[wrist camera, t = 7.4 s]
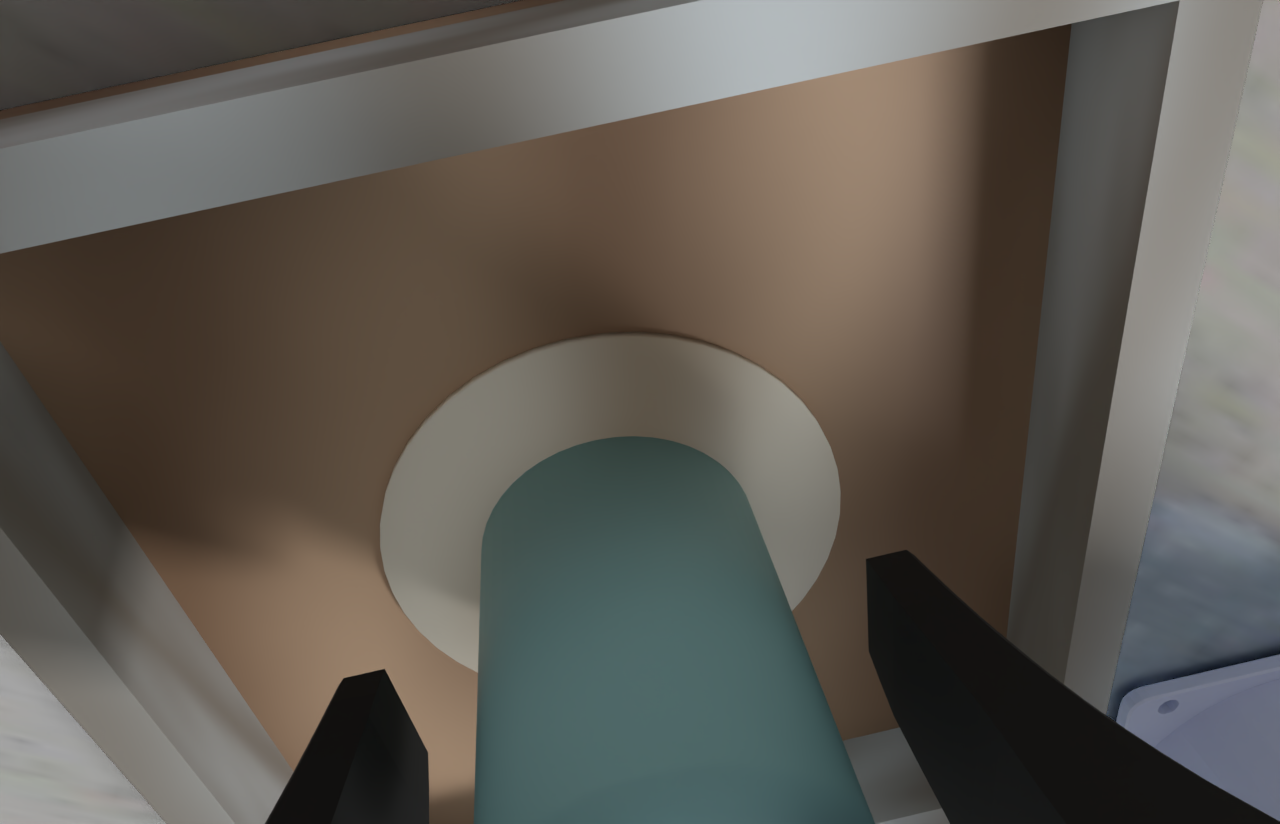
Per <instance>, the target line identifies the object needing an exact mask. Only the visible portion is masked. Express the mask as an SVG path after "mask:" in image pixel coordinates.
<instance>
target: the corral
mask: <svg viewBox="0 0 1280 824" xmlns="http://www.w3.org/2000/svg"><path fill="white" fill-rule="evenodd" d="M1262 4H1263V0H521V1H517V2H512V3H507V4H502V5H498V6H493V7H488V8H483V9H479V10H474V11H469V12H464V13H460V14H455V15H450V16H446V17H441V18H436V19H431V20H427V21H422V22H417V23H412V24H408V25H403V26H398V27H393V28H389V29H384V30H379V31H374V32H370V33H365V34H360V35H355V36H351V37H346V38H341V39H336V40H332V41H327V42H322V43H318V44H313V45H308V46H303V47H299V48H294V49H289V50H284V51H280V52H275V53H270V54H265V55H261V56H256V57H251V58H246V59H242V60H237V61H232V62H227V63H223V64H218V65H213V66H208V67H204V68H199V69H194V70H189V71H185V72H180V73H175V74H171V75H166V76H161V77H156V78H152V79H147V80H142V81H137V82H133V83H128V84H123V85H118V86H114V87H109V88H104V89H99V90H95V91H90V92H85V93H80V94H76V95H71V96H66V97H61V98H57V99H52V100H47V101H43V102H38V103H33V104H28V105H24V106H19V107H14V108H9V109H5V110H0V634H1V635H2V637H3V638H4V639H5V640H6V641H7V642H8V643H9V645H10V646H11V647H12V648H13V649H14V650H15V651H16V653H17V654H18V655H19V656H20V657H21V658H22V659H23V661H24V662H25V663H26V664H27V665H28V666H29V667H30V669H31V670H32V671H33V672H34V673H35V674H36V675H37V676H38V678H39V679H40V680H41V681H42V682H43V683H44V684H45V686H46V687H47V688H48V689H49V690H50V691H51V692H52V694H53V695H54V696H55V697H56V698H57V699H58V700H59V702H60V703H61V704H62V705H63V706H64V707H65V708H66V710H67V711H68V712H69V713H70V714H71V715H72V716H73V718H74V719H75V720H76V721H77V722H78V723H79V724H80V726H81V727H82V728H83V729H84V730H85V731H86V732H87V734H88V735H89V736H90V737H91V738H92V739H93V740H94V742H95V743H96V744H97V745H98V746H99V747H100V748H101V750H102V751H103V752H104V753H105V754H106V755H107V756H108V758H109V759H110V760H111V761H112V762H113V763H114V764H115V766H116V767H117V768H118V769H119V770H120V771H121V772H122V774H123V775H124V776H125V777H126V778H127V779H128V780H129V781H130V783H131V784H132V785H133V786H134V787H135V788H136V789H137V791H138V792H139V793H140V794H141V795H142V796H143V797H144V799H145V800H146V801H147V802H148V803H149V804H150V805H151V807H152V808H153V809H154V810H155V811H156V812H157V813H158V815H159V816H160V817H161V818H162V819H163V820H164V821H165V823H166V824H265V822H266V821H267V819H268V817H269V815H270V814H271V812H272V810H273V808H274V806H275V805H276V803H277V801H278V799H279V797H280V796H281V794H282V792H283V790H284V788H285V787H286V785H287V783H288V781H289V779H290V778H291V776H292V774H293V772H294V770H295V768H296V766H297V765H298V763H299V761H300V759H301V757H302V755H303V753H304V751H305V749H306V748H307V746H308V744H309V742H310V740H311V738H312V736H313V734H314V732H315V730H316V728H317V726H318V724H319V722H320V721H321V719H322V717H323V715H324V713H325V711H326V709H327V707H328V705H329V703H330V701H331V699H332V697H333V695H334V693H335V691H336V689H337V687H338V686H339V684H340V683H341V681H342V680H343V678H346V677H351V676H355V675H360V674H364V673H368V672H373V671H377V670H382V669H385V670H386V672H387V674H388V676H389V678H390V680H391V682H392V684H393V686H394V688H395V690H396V692H397V694H398V695H399V697H400V699H401V701H402V703H403V705H404V707H405V709H406V711H407V713H408V715H409V717H410V719H411V721H412V722H413V724H414V726H415V728H416V730H417V732H418V734H419V736H420V738H421V740H422V742H423V744H424V746H425V748H426V749H427V751H428V764H429V824H474V795H475V759H476V724H477V688H478V653H479V617H480V582H481V550H482V540H483V534H484V531H485V527H486V523H487V521H488V519H489V517H490V515H491V512H492V510H493V508H494V507H495V505H496V504H497V502H498V501H499V499H500V498H501V496H502V495H503V494H504V493H505V491H506V490H507V489H508V488H509V487H510V486H511V485H512V483H513V482H515V481H516V480H517V479H518V478H519V477H520V476H521V475H523V474H524V473H525V472H526V471H527V470H529V469H530V468H532V467H533V466H535V465H536V464H538V463H539V462H541V461H542V460H544V459H546V458H548V457H550V456H552V455H554V454H556V453H558V452H560V451H563V450H565V449H568V448H570V447H573V446H575V445H579V444H583V443H586V442H590V441H594V440H599V439H606V438H612V437H627V436H639V437H654V438H659V439H665V440H670V441H674V442H677V443H681V444H684V445H687V446H690V447H692V448H694V449H696V450H698V451H701V452H703V453H705V454H706V455H708V456H709V457H711V458H713V459H714V460H716V461H717V462H719V463H720V464H721V465H722V466H723V467H724V468H726V469H727V470H728V471H729V472H730V473H731V474H732V475H733V477H734V478H735V479H736V480H737V481H738V482H739V484H740V486H741V487H742V489H743V491H744V492H745V494H746V496H747V499H748V501H749V504H750V506H751V509H752V511H753V514H754V516H755V519H756V521H757V524H758V527H759V529H760V532H761V534H762V537H763V539H764V542H765V544H766V547H767V549H768V552H769V555H770V557H771V560H772V562H773V565H774V567H775V570H776V572H777V575H778V578H779V580H780V583H781V585H782V588H783V590H784V593H785V595H786V598H787V600H788V603H789V606H790V608H791V611H792V613H793V616H794V618H795V621H796V623H797V626H798V628H799V631H800V634H801V636H802V639H803V641H804V644H805V646H806V649H807V651H808V654H809V657H810V659H811V662H812V664H813V667H814V669H815V672H816V674H817V677H818V679H819V682H820V685H821V687H822V690H823V692H824V695H825V697H826V700H827V702H828V705H829V707H830V710H831V713H832V715H833V718H834V720H835V723H836V725H837V728H838V730H839V733H840V736H841V738H842V741H843V743H844V746H845V748H846V751H847V753H848V756H849V758H850V761H851V764H852V766H853V769H854V771H855V774H856V776H857V779H858V781H859V784H860V786H861V789H862V792H863V794H864V797H865V799H866V802H867V804H868V807H869V809H870V812H871V814H872V817H873V820H874V822H875V824H950V823H949V821H948V819H947V817H946V815H945V813H944V811H943V809H942V807H941V806H940V804H939V802H938V800H937V798H936V796H935V794H934V792H933V790H932V788H931V787H930V785H929V783H928V781H927V779H926V777H925V775H924V773H923V771H922V769H921V767H920V766H919V764H918V762H917V760H916V758H915V756H914V754H913V752H912V750H911V748H910V746H909V744H908V742H907V741H906V739H905V737H904V735H903V733H902V731H901V729H900V727H899V725H898V723H897V721H896V719H895V717H894V715H893V713H892V710H891V708H890V705H889V703H888V700H887V698H886V695H885V693H884V690H883V688H882V685H881V682H880V680H879V677H878V674H877V672H876V669H875V667H874V664H873V661H872V659H871V656H870V653H869V647H868V613H867V579H866V559H867V558H872V557H876V556H881V555H885V554H889V553H894V552H898V551H902V550H908V551H909V552H911V553H912V554H914V555H915V556H916V557H917V558H918V559H919V560H920V561H921V562H922V563H923V564H924V565H925V566H926V567H927V568H928V569H929V570H930V571H931V572H932V573H933V574H935V575H936V576H937V577H938V578H939V579H940V580H941V581H942V582H943V583H944V584H945V585H946V586H947V587H948V588H949V589H951V590H952V591H953V592H954V593H955V594H956V595H957V596H958V597H959V598H960V599H962V600H963V601H964V602H965V603H966V604H967V605H968V606H969V607H970V608H972V609H973V610H974V611H975V612H976V613H977V614H978V615H979V616H981V617H982V618H983V619H984V620H985V621H986V622H988V623H989V624H990V625H991V626H992V627H993V628H994V629H996V630H997V631H998V632H999V633H1000V634H1002V635H1003V636H1004V637H1005V638H1007V639H1008V640H1009V641H1010V642H1011V643H1013V644H1014V645H1015V646H1016V647H1017V648H1019V649H1020V650H1021V651H1022V652H1023V653H1025V654H1026V655H1027V656H1028V657H1030V658H1031V659H1032V660H1033V661H1034V662H1036V663H1037V664H1038V665H1040V666H1041V667H1042V668H1043V669H1045V670H1046V671H1047V672H1048V673H1050V674H1051V675H1052V676H1054V677H1055V678H1056V679H1057V680H1059V681H1060V682H1061V683H1063V684H1064V685H1065V686H1067V687H1068V688H1069V689H1071V690H1072V691H1073V692H1075V693H1076V694H1077V695H1079V696H1080V697H1081V698H1083V699H1084V700H1085V701H1087V702H1088V703H1090V704H1091V705H1092V706H1094V707H1095V708H1097V709H1098V710H1099V711H1101V712H1102V713H1104V714H1105V715H1106V712H1107V708H1108V703H1109V699H1110V694H1111V690H1112V685H1113V681H1114V676H1115V671H1116V667H1117V662H1118V658H1119V653H1120V649H1121V644H1122V640H1123V635H1124V631H1125V626H1126V621H1127V617H1128V612H1129V608H1130V603H1131V599H1132V594H1133V590H1134V585H1135V581H1136V576H1137V571H1138V567H1139V562H1140V558H1141V553H1142V549H1143V544H1144V540H1145V535H1146V531H1147V526H1148V522H1149V517H1150V512H1151V508H1152V503H1153V499H1154V494H1155V490H1156V485H1157V481H1158V476H1159V472H1160V467H1161V462H1162V458H1163V453H1164V449H1165V444H1166V440H1167V435H1168V431H1169V426H1170V422H1171V417H1172V412H1173V408H1174V403H1175V399H1176V394H1177V390H1178V385H1179V381H1180V376H1181V372H1182V367H1183V362H1184V358H1185V353H1186V349H1187V344H1188V340H1189V335H1190V331H1191V326H1192V322H1193V317H1194V312H1195V308H1196V303H1197V299H1198V294H1199V290H1200V285H1201V281H1202V276H1203V272H1204V267H1205V263H1206V258H1207V253H1208V249H1209V244H1210V240H1211V235H1212V231H1213V226H1214V222H1215V217H1216V213H1217V208H1218V203H1219V199H1220V194H1221V190H1222V185H1223V181H1224V176H1225V172H1226V167H1227V163H1228V158H1229V153H1230V149H1231V144H1232V140H1233V135H1234V131H1235V126H1236V122H1237V117H1238V113H1239V108H1240V103H1241V99H1242V94H1243V90H1244V85H1245V81H1246V76H1247V72H1248V67H1249V63H1250V58H1251V53H1252V49H1253V44H1254V40H1255V35H1256V31H1257V26H1258V22H1259V17H1260V13H1261V8H1262Z"/></svg>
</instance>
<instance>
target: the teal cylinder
mask: <svg viewBox="0 0 1280 824" xmlns="http://www.w3.org/2000/svg"><path fill="white" fill-rule="evenodd" d="M474 824H875V822H874V820H873V817H872V814H871V812H870V809H869V807H868V804H867V802H866V799H865V797H864V794H863V792H862V789H861V786H860V784H859V781H858V779H857V776H856V774H855V771H854V769H853V766H852V764H851V761H850V758H849V756H848V753H847V751H846V748H845V746H844V743H843V741H842V738H841V736H840V733H839V730H838V728H837V725H836V723H835V720H834V718H833V715H832V713H831V710H830V707H829V705H828V702H827V700H826V697H825V695H824V692H823V690H822V687H821V685H820V682H819V679H818V677H817V674H816V672H815V669H814V667H813V664H812V662H811V659H810V657H809V654H808V651H807V649H806V646H805V644H804V641H803V639H802V636H801V634H800V631H799V628H798V626H797V623H796V621H795V618H794V616H793V613H792V611H791V608H790V606H789V603H788V600H787V598H786V595H785V593H784V590H783V588H782V585H781V583H780V580H779V578H778V575H777V572H776V570H775V567H774V565H773V562H772V560H771V557H770V555H769V552H768V549H767V547H766V544H765V542H764V539H763V537H762V534H761V532H760V529H759V527H758V524H757V521H756V519H755V516H754V514H753V511H752V509H751V506H750V504H749V501H748V499H747V496H746V494H745V492H744V491H743V489H742V487H741V486H740V484H739V482H738V481H737V480H736V479H735V478H734V477H733V475H732V474H731V473H730V472H729V471H728V470H727V469H726V468H724V467H723V466H722V465H721V464H720V463H719V462H717V461H716V460H714V459H713V458H711V457H709V456H708V455H706V454H705V453H703V452H701V451H698V450H696V449H694V448H692V447H690V446H687V445H684V444H681V443H677V442H674V441H670V440H665V439H659V438H654V437H639V436H627V437H612V438H606V439H599V440H594V441H590V442H586V443H583V444H579V445H575V446H573V447H570V448H568V449H565V450H563V451H560V452H558V453H556V454H554V455H552V456H550V457H548V458H546V459H544V460H542V461H541V462H539V463H538V464H536V465H535V466H533V467H532V468H530V469H529V470H527V471H526V472H525V473H524V474H523V475H521V476H520V477H519V478H518V479H517V480H516V481H515V482H513V483H512V485H511V486H510V487H509V488H508V489H507V490H506V491H505V493H504V494H503V495H502V496H501V498H500V499H499V501H498V502H497V504H496V505H495V507H494V508H493V510H492V512H491V515H490V517H489V519H488V521H487V523H486V527H485V531H484V534H483V540H482V550H481V582H480V617H479V653H478V688H477V724H476V759H475V795H474Z"/></svg>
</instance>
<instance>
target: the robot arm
mask: <svg viewBox="0 0 1280 824" xmlns="http://www.w3.org/2000/svg"><path fill="white" fill-rule="evenodd" d="M866 579H867V613H868V647H869V653H870V656H871V659H872V661H873V664H874V667H875V669H876V672H877V674H878V677H879V680H880V682H881V685H882V688H883V690H884V693H885V695H886V698H887V700H888V703H889V705H890V708H891V710H892V713H893V715H894V717H895V719H896V721H897V723H898V725H899V727H900V729H901V731H902V733H903V735H904V737H905V739H906V741H907V742H908V744H909V746H910V748H911V750H912V752H913V754H914V756H915V758H916V760H917V762H918V764H919V766H920V767H921V769H922V771H923V773H924V775H925V777H926V779H927V781H928V783H929V785H930V787H931V788H932V790H933V792H934V794H935V796H936V798H937V800H938V802H939V804H940V806H941V807H942V809H943V811H944V813H945V815H946V817H947V819H948V821H949V823H950V824H1280V654H1279V655H1274V656H1270V657H1266V658H1261V659H1257V660H1253V661H1249V662H1244V663H1240V664H1236V665H1232V666H1227V667H1223V668H1219V669H1214V670H1210V671H1206V672H1202V673H1197V674H1193V675H1189V676H1184V677H1180V678H1176V679H1172V680H1167V681H1163V682H1159V683H1155V684H1150V685H1146V686H1142V687H1139V688H1136V689H1134V690H1132V691H1130V692H1129V693H1127V694H1126V695H1125V696H1124V697H1123V699H1122V701H1121V703H1120V707H1119V711H1118V716H1117V720H1116V722H1115V721H1114V720H1112V719H1111V718H1109V717H1108V716H1106V715H1105V714H1104V713H1102V712H1101V711H1099V710H1098V709H1097V708H1095V707H1094V706H1092V705H1091V704H1090V703H1088V702H1087V701H1085V700H1084V699H1083V698H1081V697H1080V696H1079V695H1077V694H1076V693H1075V692H1073V691H1072V690H1071V689H1069V688H1068V687H1067V686H1065V685H1064V684H1063V683H1061V682H1060V681H1059V680H1057V679H1056V678H1055V677H1054V676H1052V675H1051V674H1050V673H1048V672H1047V671H1046V670H1045V669H1043V668H1042V667H1041V666H1040V665H1038V664H1037V663H1036V662H1034V661H1033V660H1032V659H1031V658H1030V657H1028V656H1027V655H1026V654H1025V653H1023V652H1022V651H1021V650H1020V649H1019V648H1017V647H1016V646H1015V645H1014V644H1013V643H1011V642H1010V641H1009V640H1008V639H1007V638H1005V637H1004V636H1003V635H1002V634H1000V633H999V632H998V631H997V630H996V629H994V628H993V627H992V626H991V625H990V624H989V623H988V622H986V621H985V620H984V619H983V618H982V617H981V616H979V615H978V614H977V613H976V612H975V611H974V610H973V609H972V608H970V607H969V606H968V605H967V604H966V603H965V602H964V601H963V600H962V599H960V598H959V597H958V596H957V595H956V594H955V593H954V592H953V591H952V590H951V589H949V588H948V587H947V586H946V585H945V584H944V583H943V582H942V581H941V580H940V579H939V578H938V577H937V576H936V575H935V574H933V573H932V572H931V571H930V570H929V569H928V568H927V567H926V566H925V565H924V564H923V563H922V562H921V561H920V560H919V559H918V558H917V557H916V556H915V555H914V554H912V553H911V552H909V551H908V550H902V551H898V552H894V553H889V554H885V555H881V556H876V557H872V558H867V559H866ZM265 824H429V764H428V751H427V749H426V748H425V746H424V744H423V742H422V740H421V738H420V736H419V734H418V732H417V730H416V728H415V726H414V724H413V722H412V721H411V719H410V717H409V715H408V713H407V711H406V709H405V707H404V705H403V703H402V701H401V699H400V697H399V695H398V694H397V692H396V690H395V688H394V686H393V684H392V682H391V680H390V678H389V676H388V674H387V672H386V670H385V669H382V670H377V671H373V672H368V673H364V674H360V675H355V676H351V677H346V678H343V680H342V681H341V683H340V684H339V686H338V687H337V689H336V691H335V693H334V695H333V697H332V699H331V701H330V703H329V705H328V707H327V709H326V711H325V713H324V715H323V717H322V719H321V721H320V722H319V724H318V726H317V728H316V730H315V732H314V734H313V736H312V738H311V740H310V742H309V744H308V746H307V748H306V749H305V751H304V753H303V755H302V757H301V759H300V761H299V763H298V765H297V766H296V768H295V770H294V772H293V774H292V776H291V778H290V779H289V781H288V783H287V785H286V787H285V788H284V790H283V792H282V794H281V796H280V797H279V799H278V801H277V803H276V805H275V806H274V808H273V810H272V812H271V814H270V815H269V817H268V819H267V821H266V822H265Z"/></svg>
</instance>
